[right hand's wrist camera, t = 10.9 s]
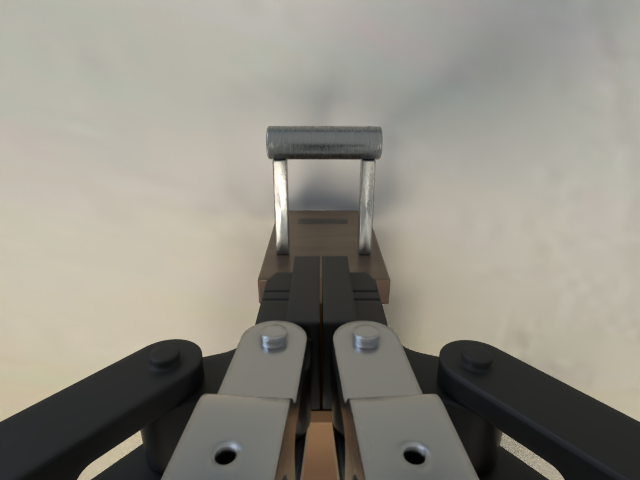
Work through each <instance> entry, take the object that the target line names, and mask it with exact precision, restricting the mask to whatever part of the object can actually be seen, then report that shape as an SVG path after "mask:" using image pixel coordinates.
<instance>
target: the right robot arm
mask: <svg viewBox="0 0 640 480" xmlns="http://www.w3.org/2000/svg"><path fill="white" fill-rule="evenodd" d="M322 370H323V409H332V444H333V452H334V460H335V468H336V475H337V480H549V479H547V478H546V477H544V476H543V475H541V474H540V473H539V472H537V471H536V470H534V469H533V468H531V467H530V466H528V465H527V464H526V463H524V462H523V461H521V460H520V459H518V458H517V457H516V456H514V455H513V454H511V453H510V452H508V451H507V450H505V449H504V448H503V447H501V446H500V442H501V437H502V432H503V433H505V434H506V435H508V436H509V437H511V438H513V439H514V440H516V441H517V442H519V443H520V444H522V445H523V446H525V447H526V448H528V449H529V450H531V451H532V452H534V453H535V454H537V455H538V456H540V457H541V458H543V459H544V460H546V461H547V462H549V463H550V464H551V465H553V466H554V467H555V468H556V469H557V470H558V471H559V472H560V473H561V475H562V476H563V478H564V479H565V480H640V422H639V421H637V420H635V419H633V418H631V417H629V416H627V415H625V414H623V413H621V412H619V411H617V410H615V409H613V408H611V407H610V406H608V405H606V404H604V403H602V402H600V401H598V400H596V399H594V398H592V397H590V396H588V395H586V394H584V393H582V392H581V391H579V390H577V389H575V388H573V387H571V386H569V385H567V384H565V383H563V382H561V381H559V380H557V379H555V378H553V377H551V376H550V375H548V374H546V373H544V372H542V371H540V370H538V369H536V368H534V367H532V366H530V365H528V364H526V363H524V362H522V361H521V360H519V359H517V358H515V357H513V356H511V355H509V354H507V353H505V352H503V351H501V350H499V349H497V348H495V347H493V346H491V345H488V344H485V343H482V342H478V341H471V340H459V341H454V342H450V343H448V344H446V345H445V346H444V347H443V348H442V349H441V351H440V355H439V357H437V356H432V355H427V354H422V353H418V352H415V351H412V350H409V349H407V348H405V347H403V346H402V344H401V342H400V340H399V337H398V335H397V334H396V333H395V332H394V331H393V330H392V329H391V328H389V327H388V325H387V321H386V318H385V314H384V310H383V306H382V303H381V301H380V295H379V292H378V288H377V284H376V280H374V279H373V278H372V277H371V276H370V275H369V274H368V273H366V272H350V270H349V263H348V257H347V256H322ZM311 409H320V256H295V258H294V265H293V272H276V273H275V274H274V275H272V276H271V277H270V278H269V279H268V280H267V281H266V285H265V289H264V293H263V297H262V301H261V305H260V309H259V312H258V316H257V320H256V324H255V325H254V326H252V327H251V328H249V329H248V330H247V331H246V332H245V333H244V334H243V335H242V337H241V340H240V342H239V344H238V347H237V348H236V349H234V350H231V351H229V352H225V353H221V354H217V355H212V356H207V357H202V351H201V349H200V347H199V346H198V345H196V344H195V343H193V342H191V341H187V340H181V339H173V340H165V341H160V342H157V343H154V344H151V345H149V346H147V347H145V348H143V349H141V350H139V351H137V352H135V353H133V354H131V355H129V356H127V357H125V358H123V359H121V360H119V361H118V362H116V363H114V364H112V365H110V366H108V367H106V368H104V369H102V370H100V371H98V372H96V373H94V374H92V375H90V376H89V377H87V378H85V379H83V380H81V381H79V382H77V383H75V384H73V385H71V386H69V387H67V388H65V389H63V390H61V391H60V392H58V393H56V394H54V395H52V396H50V397H48V398H46V399H44V400H42V401H40V402H38V403H36V404H34V405H32V406H30V407H29V408H27V409H25V410H23V411H21V412H19V413H17V414H15V415H13V416H11V417H9V418H7V419H5V420H3V421H1V422H0V480H77V479H78V477H79V475H80V474H81V473H82V471H83V470H84V469H85V468H86V467H87V466H88V465H89V464H90V463H92V462H93V461H94V460H96V459H97V458H99V457H100V456H102V455H103V454H105V453H106V452H108V451H109V450H111V449H112V448H114V447H115V446H117V445H119V444H120V443H122V442H123V441H125V440H126V439H128V438H129V437H131V436H132V435H134V434H135V433H137V432H138V431H141V435H142V440H143V444H142V445H140V446H139V447H137V448H136V449H135V450H133V451H132V452H130V453H129V454H127V455H126V456H124V457H123V458H122V459H120V460H119V461H117V462H116V463H114V464H113V465H112V466H110V467H109V468H107V469H106V470H104V471H103V472H101V473H100V474H99V475H97V476H96V477H94V478H93V479H91V480H303V475H304V468H305V460H306V452H307V444H308V428H309V425H310V422H311Z"/></svg>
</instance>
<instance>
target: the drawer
mask: <svg viewBox="0 0 640 480" xmlns="http://www.w3.org/2000/svg"><path fill="white" fill-rule="evenodd" d="M266 146H267V155H268V158H269V159H274V160H273V180H274V206H275V224H274V228H273V231H272V234H271V238H270V241H269V244H268V248H267V251H266V254H265V258H264V261H263V264H262V268H261V271H260V275H259V278H258V291H259V303H261V301H262V297H263V293H264V289H265V285H266V281H267V280H268V279H269V278H270V277H271V276H272V275H274V274H275V273H276V272H293V265H294V258H295V256H320V409H311V411H332V409H323V370H322V256H347V257H348V263H349V270H350V272H366V273H368V274H369V275H370V276H371V277H372V278H373V279H374V280H376V284H377V288H378V292H379V295H380V301H381V303H382V304H388V303H389V291H390V278H389V275H388V272H387V269H386V266H385V263H384V260H383V257H382V254H381V251H380V248H379V245H378V243H377V240H376V237H375V234H374V231H373V228H372V221H373V202H374V182H375V162H376V161H375V160H374V159H380V157H381V153H382V129H381V127H358V126H269V127H268V128H267V134H266ZM287 159H361V168H360V195H359V211H289V206H288V168H287Z"/></svg>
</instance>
